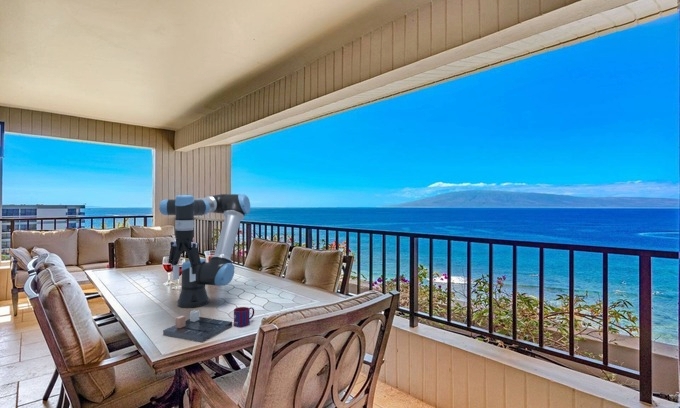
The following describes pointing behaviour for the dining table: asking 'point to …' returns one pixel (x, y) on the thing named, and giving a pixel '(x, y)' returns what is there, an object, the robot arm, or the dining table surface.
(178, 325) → the fader
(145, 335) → the dining table surface
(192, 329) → the dark grey slider board
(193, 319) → the fader
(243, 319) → the mug
